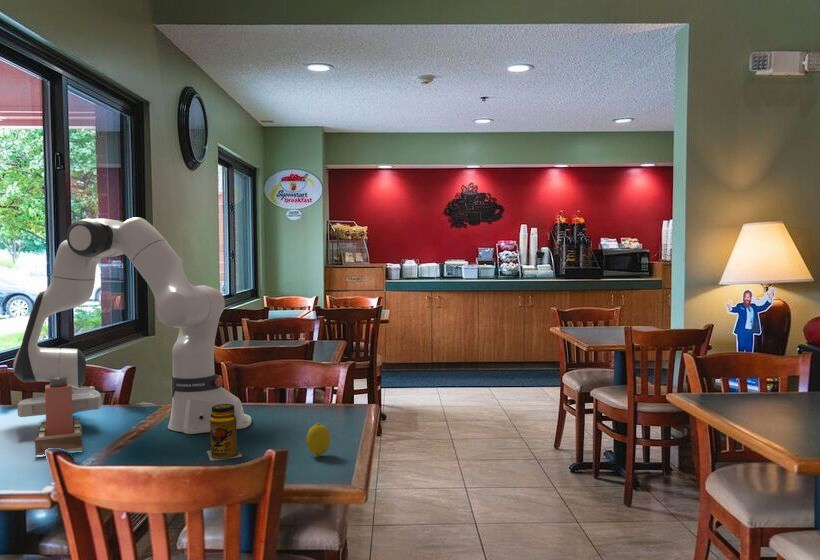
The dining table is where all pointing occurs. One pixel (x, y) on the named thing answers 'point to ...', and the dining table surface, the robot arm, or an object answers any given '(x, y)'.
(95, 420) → the dining table surface
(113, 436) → the dining table surface
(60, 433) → the pink upright post
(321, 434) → the lemon
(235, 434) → the condiment
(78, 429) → the press base
